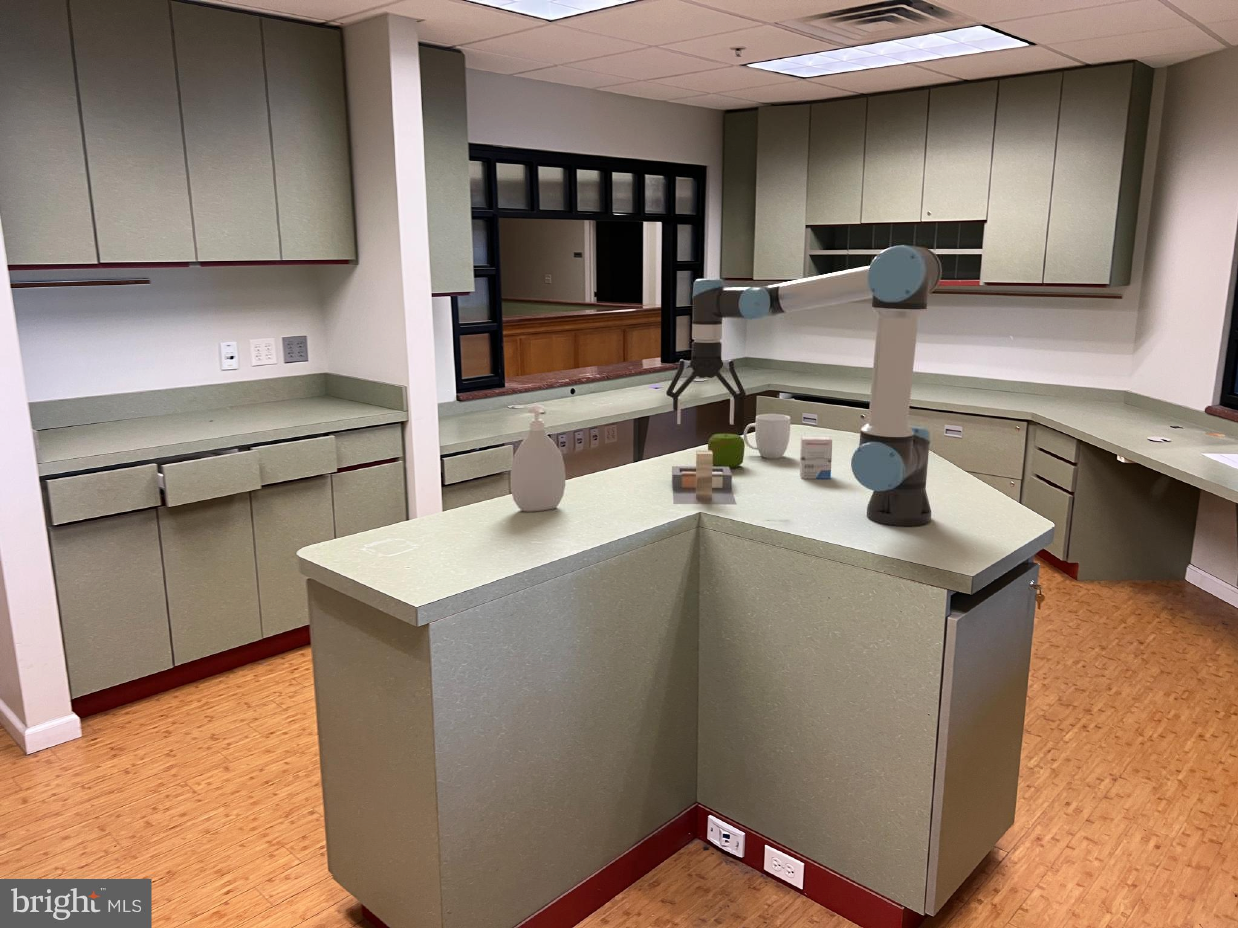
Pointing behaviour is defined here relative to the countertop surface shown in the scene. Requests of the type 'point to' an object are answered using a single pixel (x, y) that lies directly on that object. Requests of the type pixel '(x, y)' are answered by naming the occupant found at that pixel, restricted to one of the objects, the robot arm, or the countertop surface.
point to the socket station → (687, 486)
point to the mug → (770, 435)
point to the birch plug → (704, 474)
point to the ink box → (815, 457)
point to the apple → (727, 450)
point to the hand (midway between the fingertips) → (705, 423)
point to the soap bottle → (537, 469)
